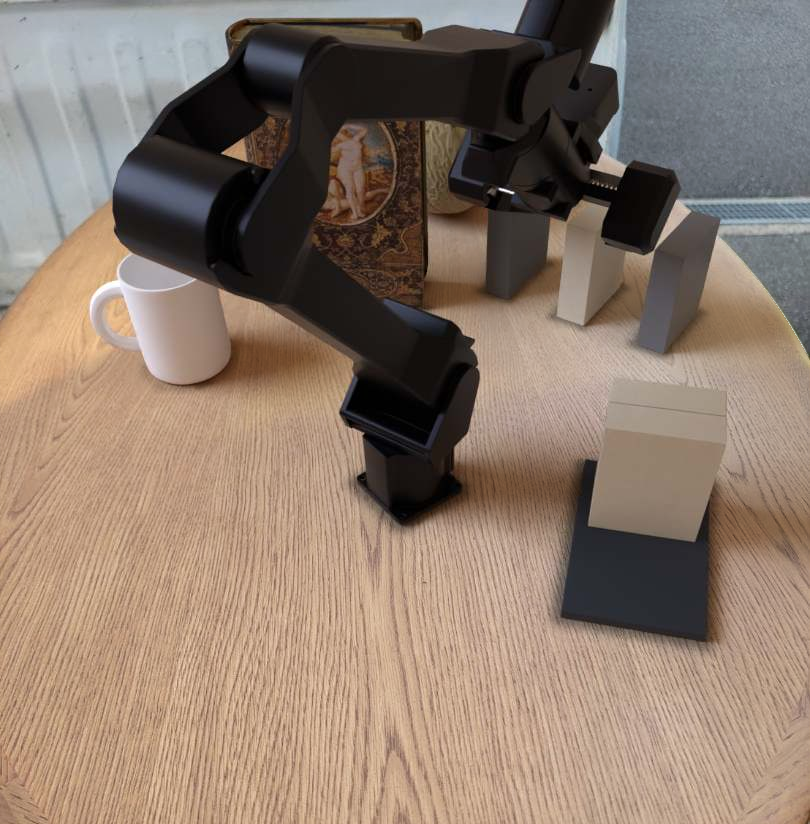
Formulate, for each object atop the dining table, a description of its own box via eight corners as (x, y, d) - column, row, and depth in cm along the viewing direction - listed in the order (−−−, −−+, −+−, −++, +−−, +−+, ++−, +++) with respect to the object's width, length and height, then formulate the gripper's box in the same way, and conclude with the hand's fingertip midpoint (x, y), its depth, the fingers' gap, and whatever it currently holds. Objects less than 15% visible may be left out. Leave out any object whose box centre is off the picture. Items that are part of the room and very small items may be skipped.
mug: (101, 394, 81) (65, 298, 74) (114, 341, 87) (82, 246, 79) (230, 384, 82) (207, 287, 74) (235, 332, 87) (214, 237, 79)
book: (266, 305, 90) (218, 41, 71) (276, 276, 94) (234, 17, 75) (424, 309, 88) (418, 41, 70) (428, 279, 92) (424, 17, 73)
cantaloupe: (516, 233, 98) (525, 93, 86) (385, 242, 97) (377, 103, 86) (498, 171, 107) (503, 39, 96) (379, 180, 107) (371, 47, 96)
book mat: (560, 617, 62) (576, 514, 54) (583, 465, 73) (600, 360, 65) (704, 641, 61) (743, 539, 53) (707, 483, 71) (741, 376, 63)
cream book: (583, 326, 86) (596, 232, 78) (556, 316, 87) (566, 223, 79) (620, 287, 90) (635, 194, 82) (593, 279, 91) (606, 186, 84)
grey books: (663, 354, 82) (685, 258, 75) (484, 291, 90) (488, 199, 83) (697, 312, 86) (721, 218, 79) (523, 256, 94) (530, 165, 87)
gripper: (698, 62, 59) (722, 158, 74) (467, 16, 67) (529, 110, 81) (629, 221, 61) (666, 284, 75) (412, 158, 69) (482, 226, 83)
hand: (583, 221), depth 79 cm, fingers open, 9 cm apart
